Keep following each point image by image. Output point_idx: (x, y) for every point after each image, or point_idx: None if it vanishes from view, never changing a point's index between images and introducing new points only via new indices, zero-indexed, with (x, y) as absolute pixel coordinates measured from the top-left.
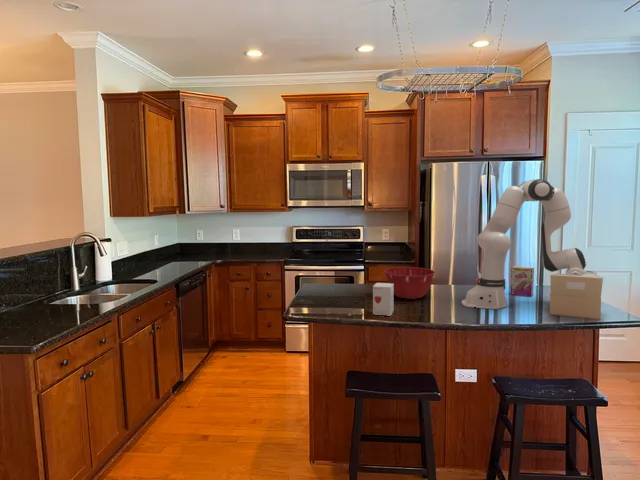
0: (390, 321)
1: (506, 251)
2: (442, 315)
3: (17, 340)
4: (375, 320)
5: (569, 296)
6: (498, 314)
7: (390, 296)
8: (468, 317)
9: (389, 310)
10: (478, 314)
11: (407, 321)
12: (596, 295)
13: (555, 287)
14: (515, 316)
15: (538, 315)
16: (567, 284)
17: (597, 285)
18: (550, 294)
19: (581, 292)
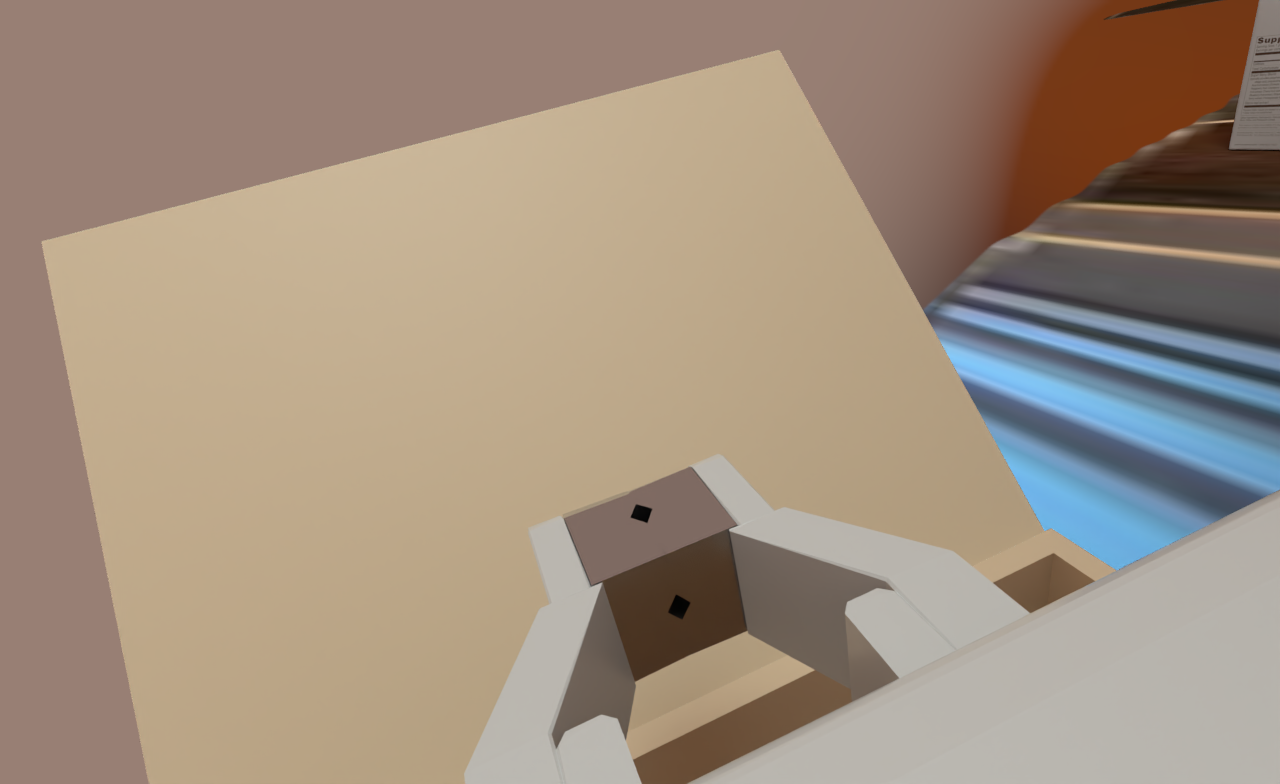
0: (1141, 152)
1: None
2: (1224, 233)
3: (1150, 7)
4: (1173, 136)
5: (768, 676)
6: (1183, 407)
7: (1251, 39)
8: (1133, 285)
9: (1236, 115)
10: (1215, 331)
11: (1123, 172)
12: (257, 759)
13: (852, 344)
14: (1067, 457)
15: None
16: (645, 302)
17: (178, 428)
18: (1045, 536)
19: (508, 580)
